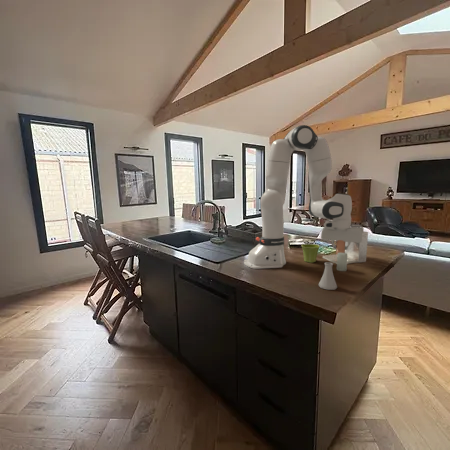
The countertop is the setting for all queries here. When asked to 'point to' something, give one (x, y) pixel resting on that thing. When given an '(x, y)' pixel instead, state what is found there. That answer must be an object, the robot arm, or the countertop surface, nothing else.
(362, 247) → the service unit
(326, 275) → the flask
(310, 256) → the plant pot
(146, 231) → the countertop surface
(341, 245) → the terracotta part
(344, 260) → the sage part
